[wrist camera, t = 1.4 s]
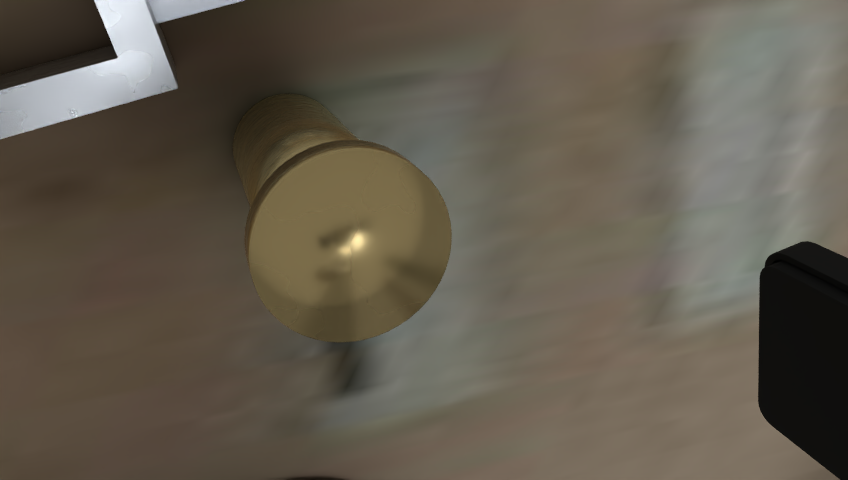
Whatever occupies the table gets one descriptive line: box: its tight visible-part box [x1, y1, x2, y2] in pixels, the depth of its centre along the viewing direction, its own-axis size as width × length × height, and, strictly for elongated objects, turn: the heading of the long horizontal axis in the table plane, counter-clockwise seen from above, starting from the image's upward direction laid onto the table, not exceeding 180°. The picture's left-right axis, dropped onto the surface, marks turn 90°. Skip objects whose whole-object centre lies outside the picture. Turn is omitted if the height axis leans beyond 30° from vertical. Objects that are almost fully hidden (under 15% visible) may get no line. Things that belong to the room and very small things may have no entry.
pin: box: [233, 94, 452, 342], centre depth 21 cm, size 5×5×10 cm
